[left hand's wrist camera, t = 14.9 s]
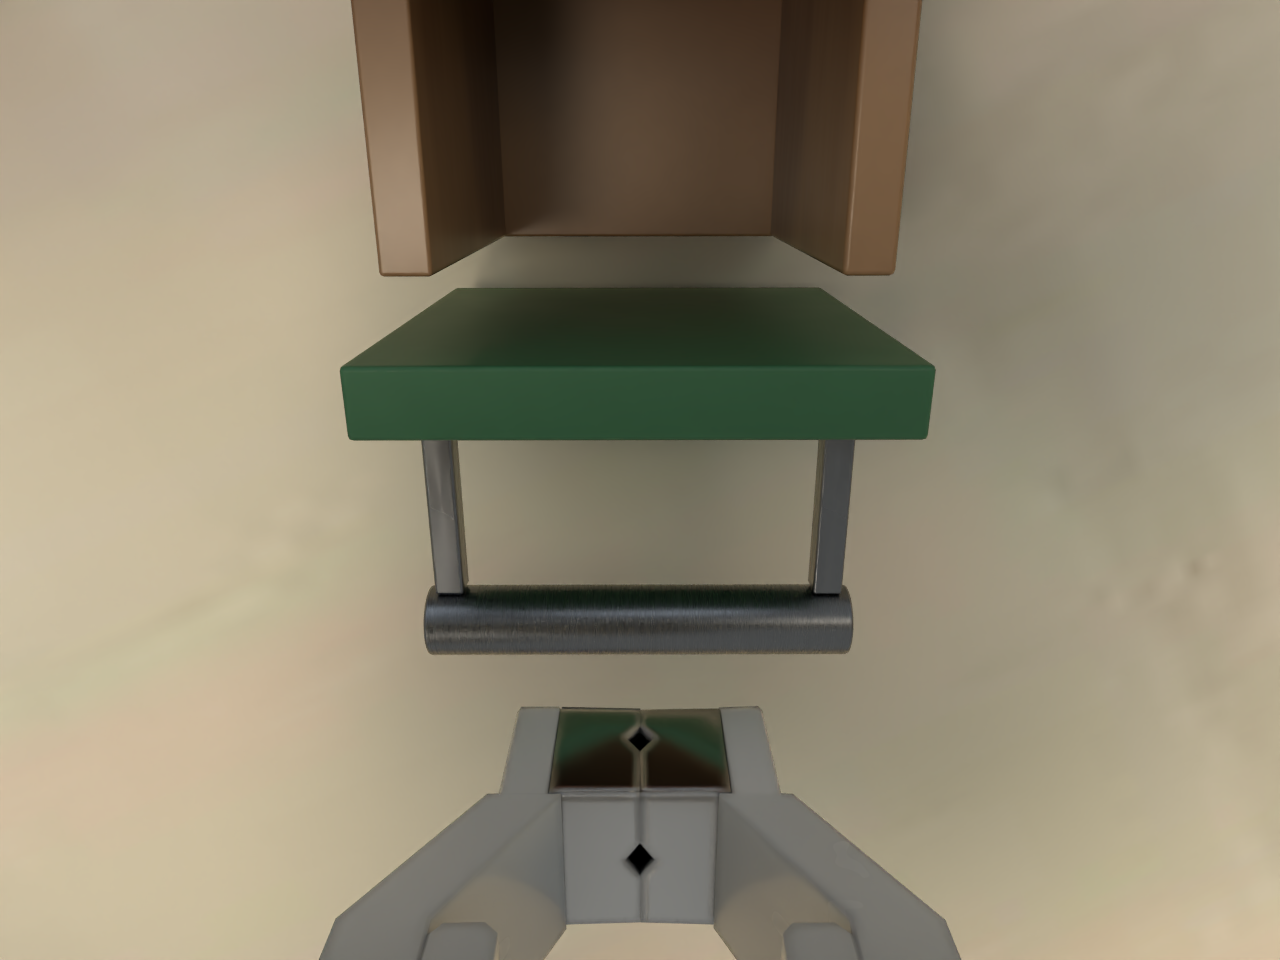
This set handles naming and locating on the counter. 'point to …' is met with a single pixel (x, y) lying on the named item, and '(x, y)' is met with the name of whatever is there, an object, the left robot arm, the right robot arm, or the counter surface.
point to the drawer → (637, 317)
